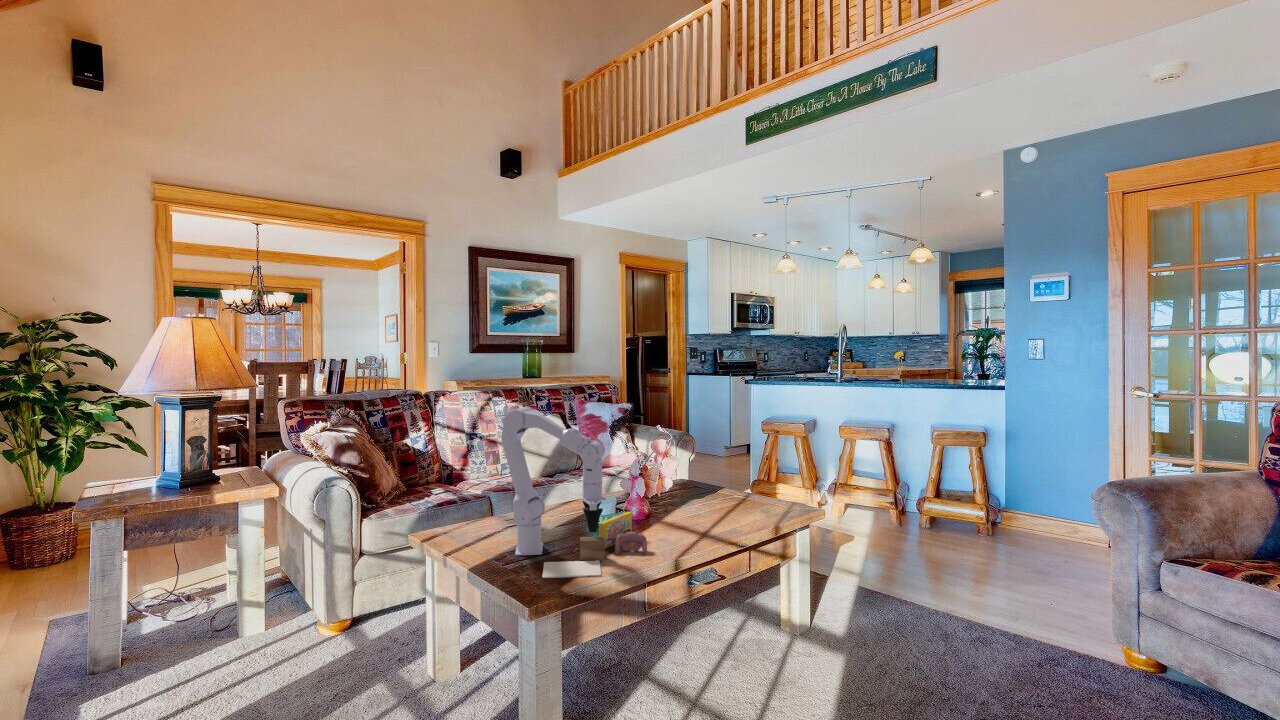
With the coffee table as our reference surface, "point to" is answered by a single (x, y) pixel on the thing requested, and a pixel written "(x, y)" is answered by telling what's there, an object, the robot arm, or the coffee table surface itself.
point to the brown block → (591, 548)
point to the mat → (571, 569)
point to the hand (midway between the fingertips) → (592, 527)
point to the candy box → (615, 528)
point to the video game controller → (630, 537)
